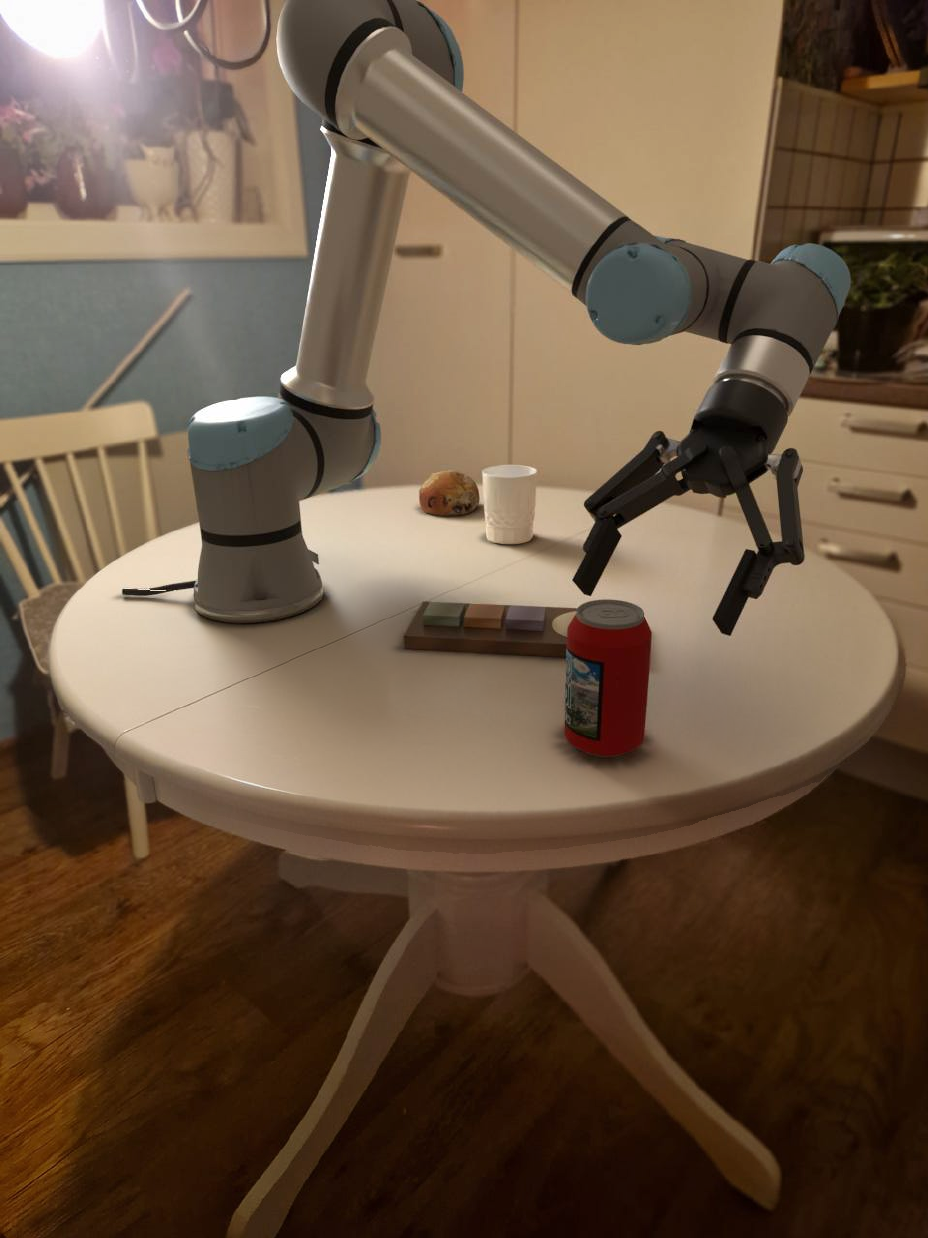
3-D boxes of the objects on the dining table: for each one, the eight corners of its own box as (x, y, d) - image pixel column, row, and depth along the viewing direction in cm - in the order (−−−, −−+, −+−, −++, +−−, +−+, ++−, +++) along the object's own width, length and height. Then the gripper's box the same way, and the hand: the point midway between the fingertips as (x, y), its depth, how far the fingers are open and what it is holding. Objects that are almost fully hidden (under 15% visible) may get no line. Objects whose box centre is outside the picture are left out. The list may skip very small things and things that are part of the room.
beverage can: (557, 724, 76) (560, 597, 72) (632, 720, 77) (641, 594, 72) (571, 765, 70) (576, 630, 65) (653, 761, 71) (663, 626, 66)
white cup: (536, 530, 130) (538, 464, 126) (535, 546, 123) (536, 477, 119) (484, 529, 131) (484, 464, 127) (480, 545, 124) (479, 476, 120)
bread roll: (478, 522, 147) (476, 475, 147) (482, 512, 137) (480, 462, 137) (420, 524, 146) (418, 477, 147) (420, 514, 136) (418, 464, 137)
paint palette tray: (403, 648, 92) (402, 625, 91) (423, 612, 101) (422, 591, 100) (633, 661, 88) (635, 636, 87) (632, 622, 97) (633, 600, 96)
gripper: (900, 444, 72) (801, 667, 68) (642, 414, 88) (549, 593, 84) (889, 386, 66) (779, 625, 62) (615, 365, 82) (513, 554, 78)
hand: (647, 607), depth 73 cm, fingers open, 13 cm apart
